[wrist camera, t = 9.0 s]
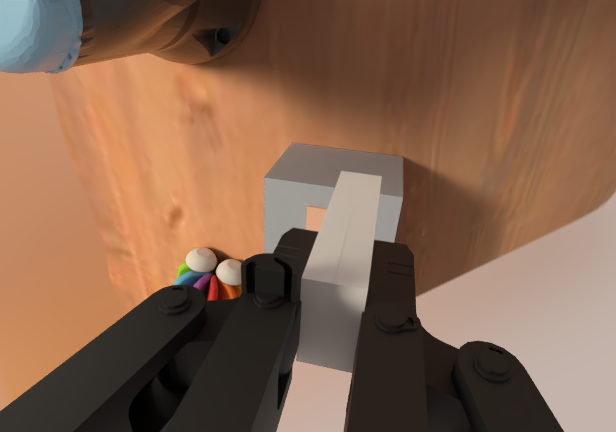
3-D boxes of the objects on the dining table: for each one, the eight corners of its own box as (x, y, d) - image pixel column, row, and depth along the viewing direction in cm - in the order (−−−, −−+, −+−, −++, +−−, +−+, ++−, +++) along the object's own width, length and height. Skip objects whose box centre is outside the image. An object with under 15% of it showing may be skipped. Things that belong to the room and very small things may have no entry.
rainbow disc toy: (243, 306, 56) (223, 343, 50) (182, 280, 56) (154, 314, 50) (258, 263, 51) (238, 299, 45) (191, 235, 52) (162, 267, 45)
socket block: (287, 260, 50) (263, 315, 41) (292, 142, 42) (263, 178, 33) (380, 277, 48) (375, 338, 39) (403, 156, 40) (403, 199, 31)
